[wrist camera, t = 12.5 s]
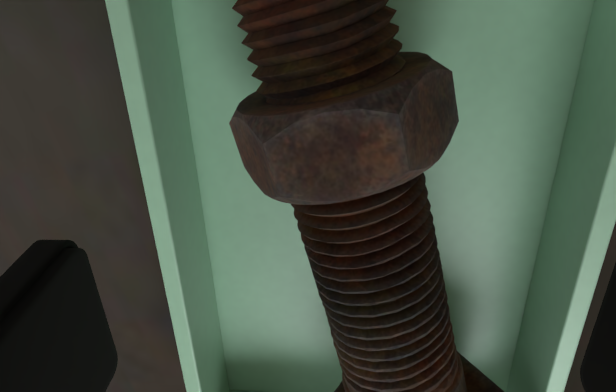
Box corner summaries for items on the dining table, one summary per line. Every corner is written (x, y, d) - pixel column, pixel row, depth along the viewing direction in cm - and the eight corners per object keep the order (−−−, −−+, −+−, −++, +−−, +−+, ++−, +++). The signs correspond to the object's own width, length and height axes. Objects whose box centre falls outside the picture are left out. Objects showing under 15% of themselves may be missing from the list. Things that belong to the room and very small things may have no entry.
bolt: (335, -98, 12) (428, 352, 18) (138, -50, 11) (309, 419, 17) (509, -196, 7) (559, 473, 13) (180, -128, 6) (403, 585, 12)
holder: (221, 387, 19) (199, 458, 16) (130, -184, 11) (57, -224, 8) (510, 402, 18) (536, 481, 15) (657, -216, 10) (767, -273, 7)
